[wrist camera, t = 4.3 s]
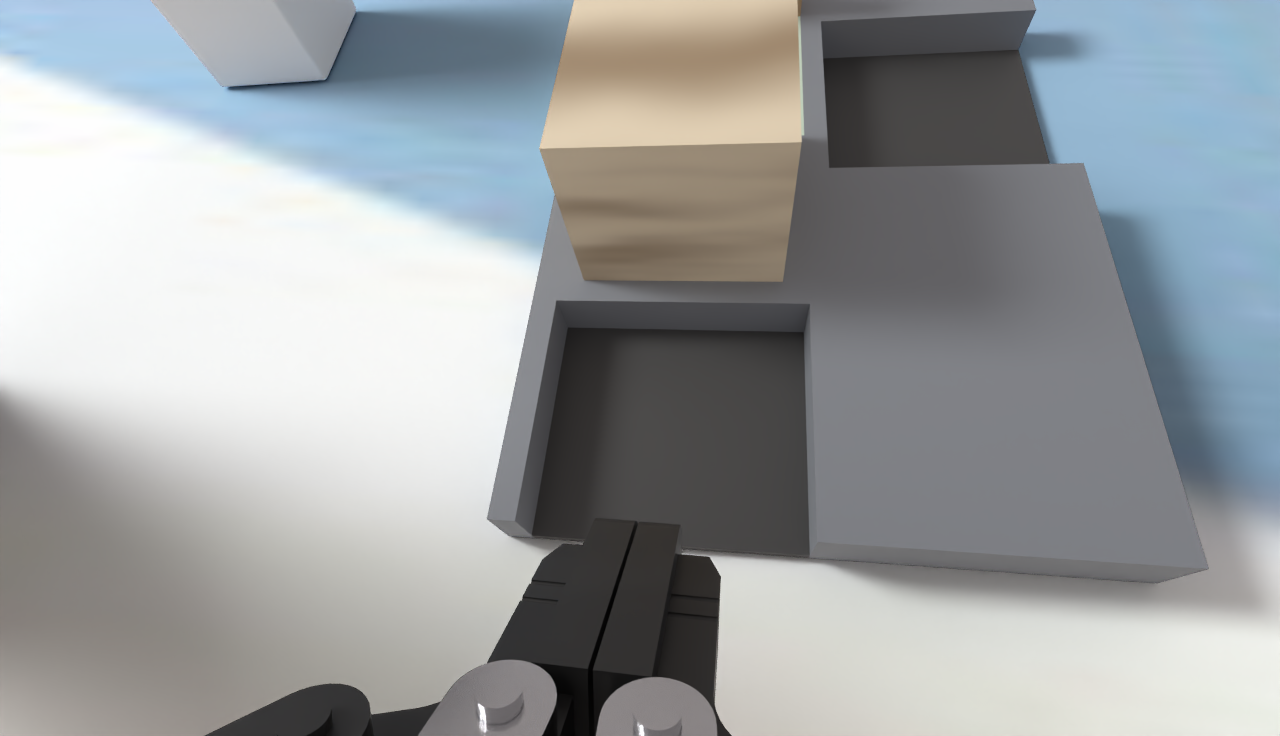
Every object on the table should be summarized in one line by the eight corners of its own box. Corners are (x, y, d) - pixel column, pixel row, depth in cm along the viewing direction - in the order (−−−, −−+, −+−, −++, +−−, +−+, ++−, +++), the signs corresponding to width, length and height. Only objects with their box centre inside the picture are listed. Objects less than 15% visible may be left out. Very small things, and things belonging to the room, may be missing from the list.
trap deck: (1156, 583, 20) (1323, 537, 15) (509, 536, 24) (440, 483, 18) (1008, 31, 33) (1066, -107, 27) (601, 51, 37) (578, -69, 31)
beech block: (782, 281, 25) (801, 142, 18) (584, 280, 26) (539, 148, 20) (781, 135, 28) (796, -22, 22) (607, 140, 29) (575, -8, 23)
